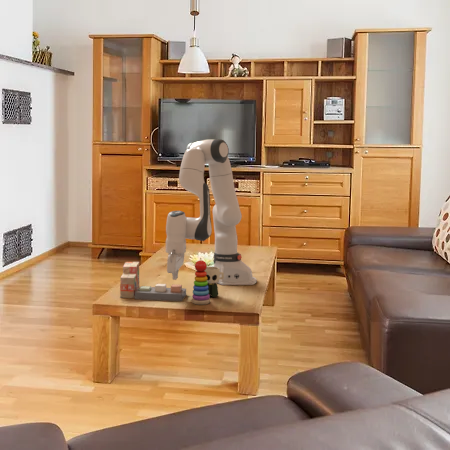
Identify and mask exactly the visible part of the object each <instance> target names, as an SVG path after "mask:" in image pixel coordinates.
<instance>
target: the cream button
mask: <svg viewBox="0 0 450 450" xmlns="http://www.w3.org/2000/svg"><path fill="white" fill-rule="evenodd" d="M154 287H155V292H166V288H167V283H156V284H155V286H154Z"/></svg>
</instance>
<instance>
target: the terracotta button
mask: <svg viewBox="0 0 450 450" xmlns="http://www.w3.org/2000/svg"><path fill="white" fill-rule="evenodd" d="M170 288H171V292H176V293H181V292H182V288H183V285H182V284H175V283H173V284H171V285H170Z"/></svg>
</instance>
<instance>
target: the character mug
mask: <svg viewBox="0 0 450 450" xmlns="http://www.w3.org/2000/svg"><path fill="white" fill-rule="evenodd" d="M205 272H206V273H207V275H206V276H207V282H208V284H207V285H208V290H209V293H208V294H209V295H210V296H211V298H214V297H215V298H216V297H218V296H219V287H218V283H217V282H219V279H224V273H223V272H220V268H218V267H214V266H207V268H206V270H205ZM220 274H222V277H219V276H220Z"/></svg>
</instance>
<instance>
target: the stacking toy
mask: <svg viewBox="0 0 450 450" xmlns="http://www.w3.org/2000/svg"><path fill="white" fill-rule="evenodd" d="M207 265H208V264H207V262H206V261H204V260H202V259H201V260H197V261H196V262H195V264H194V268H195V270H196V271H195V272H194V281H193V290H192V298H191V303H192V304H193V305H198V306H203V305H205V306H206V305H208V304H210V302H211V299H210V297H211V295H209V294H208V293H209V290H208V285H207V284H208V282H207V276H206V275H207V273H206V272H205V270H206V268H207V267H208V266H207Z"/></svg>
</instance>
